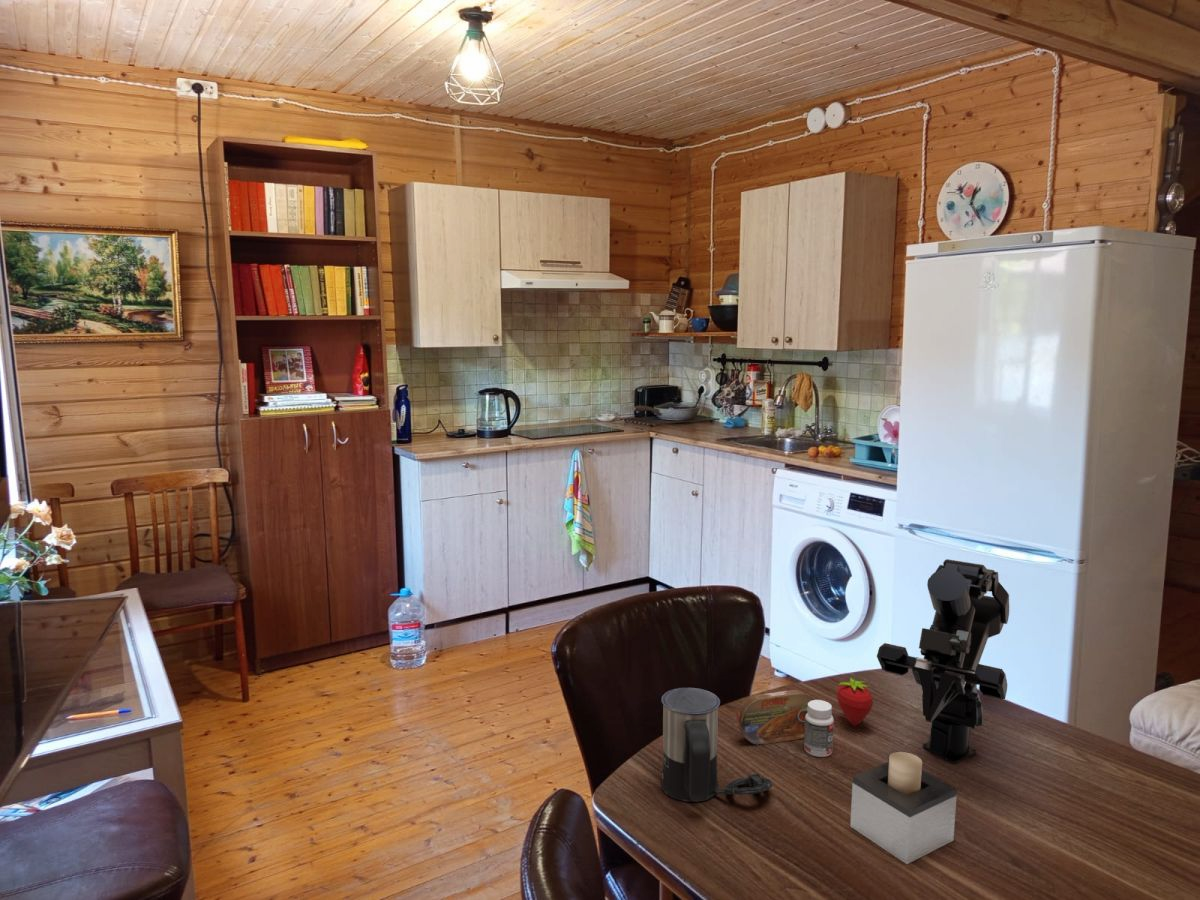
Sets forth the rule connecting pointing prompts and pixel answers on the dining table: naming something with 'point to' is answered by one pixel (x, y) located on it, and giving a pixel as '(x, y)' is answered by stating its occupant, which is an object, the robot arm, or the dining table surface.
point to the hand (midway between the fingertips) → (928, 721)
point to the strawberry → (854, 700)
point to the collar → (903, 813)
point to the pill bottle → (819, 729)
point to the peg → (905, 772)
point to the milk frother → (695, 748)
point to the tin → (773, 717)
